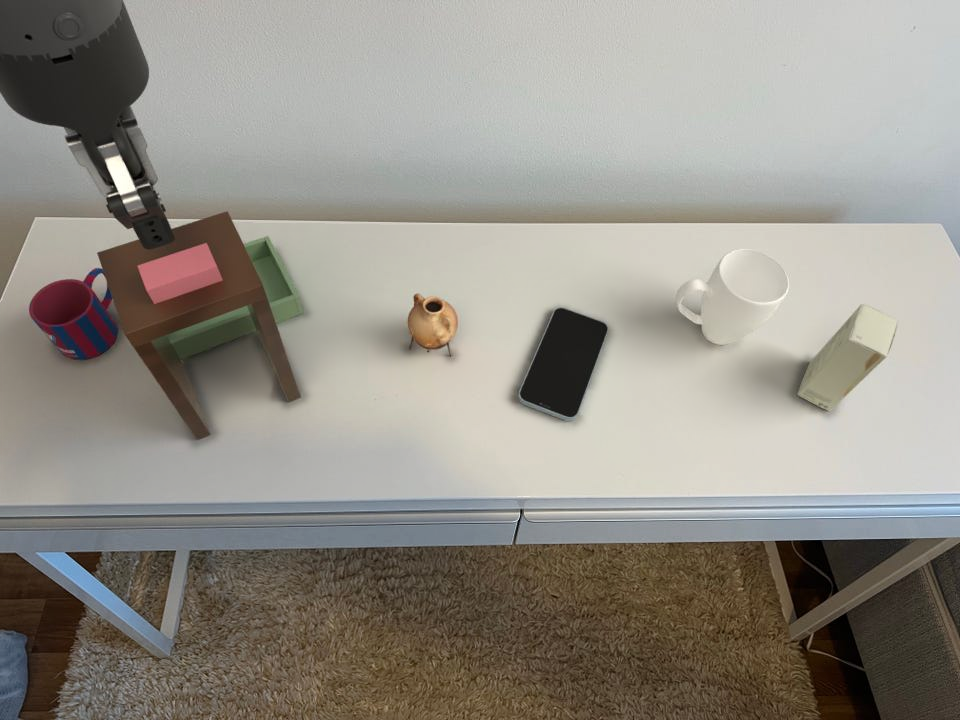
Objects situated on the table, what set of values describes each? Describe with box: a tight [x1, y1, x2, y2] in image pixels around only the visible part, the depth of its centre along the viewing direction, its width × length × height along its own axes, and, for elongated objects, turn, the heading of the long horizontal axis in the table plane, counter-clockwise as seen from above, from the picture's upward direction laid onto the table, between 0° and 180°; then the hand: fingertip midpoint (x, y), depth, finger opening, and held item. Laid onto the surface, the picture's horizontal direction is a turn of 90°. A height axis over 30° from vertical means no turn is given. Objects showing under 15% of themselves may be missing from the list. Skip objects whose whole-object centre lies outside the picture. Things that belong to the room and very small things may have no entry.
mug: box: [674, 248, 790, 346], centre depth 82 cm, size 12×8×11 cm
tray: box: [166, 235, 304, 360], centre depth 83 cm, size 16×11×4 cm
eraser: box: [137, 243, 222, 304], centre depth 59 cm, size 6×3×2 cm, turn 119°
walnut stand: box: [96, 210, 302, 441], centre depth 69 cm, size 12×10×21 cm
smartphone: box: [517, 306, 610, 422], centre depth 82 cm, size 7×1×15 cm
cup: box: [28, 267, 118, 361], centre depth 78 cm, size 7×10×7 cm
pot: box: [407, 293, 459, 358], centre depth 80 cm, size 6×8×6 cm
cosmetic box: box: [797, 302, 900, 412], centre depth 78 cm, size 6×4×12 cm
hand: (158, 239), depth 48 cm, fingers closed
